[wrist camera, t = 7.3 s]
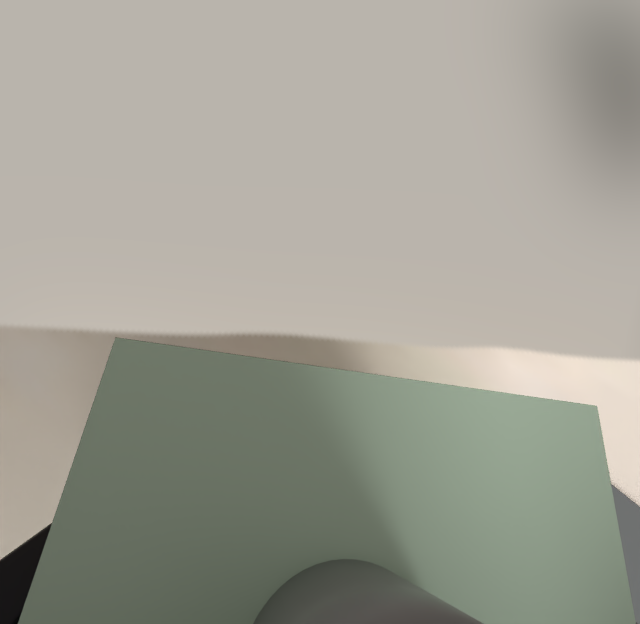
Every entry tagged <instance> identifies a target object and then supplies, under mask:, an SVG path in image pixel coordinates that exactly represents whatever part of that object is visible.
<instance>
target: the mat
mask: <svg viewBox="0 0 640 624" xmlns="http://www.w3.org/2000/svg"><path fill="white" fill-rule="evenodd" d="M611 487H612V492H613V498H614V504H615V509H616V515H617V520H618V526H619V532H620V537H621V543H622V548H623V554H624V559H625V565H626V571H627V576H628V582H629V587H630V593H631V598H632V604H633V610H634V615H635V621H636V622H637V623H638V624H640V507H639V506H638V505H636V504H635V503H634V502H633V501H631V500H630V499H629V498H628V497H626V496H625V495H624V494H623V493H621V492H620V491H619V490H618V489H616V488H615V487H614V486H613V485H611Z"/></svg>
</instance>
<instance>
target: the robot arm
mask: <svg viewBox="0 0 640 624" xmlns="http://www.w3.org/2000/svg"><path fill="white" fill-rule="evenodd" d="M51 525H52V523H51V524H50V525H48V526H47V527H45V528H44V529H43V530H41V531H40V532H39V533H37V534H36V535H34V536H33V537H32V538H30V539H29V540H27V541H26V542H25V543H23V544H22V545H20V546H19V547H18V548H16V549H15V550H14V551H12V552H11V553H9V554H8V555H7V556H5V557H4V558H2V559H1V560H0V624H18V622H19V619H20V616H21V613H22V610H23V607H24V604H25V601H26V598H27V596H28V593H29V590H30V587H31V584H32V581H33V578H34V575H35V572H36V569H37V566H38V563H39V560H40V557H41V555H42V552H43V549H44V546H45V543H46V540H47V537H48V534H49V531H50V528H51ZM636 624H638V623H637V622H636Z"/></svg>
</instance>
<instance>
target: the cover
mask: <svg viewBox="0 0 640 624" xmlns="http://www.w3.org/2000/svg"><path fill="white" fill-rule="evenodd" d="M18 624H636V621H635V615H634V610H633V604H632V598H631V593H630V587H629V582H628V576H627V571H626V565H625V559H624V554H623V548H622V543H621V537H620V532H619V526H618V520H617V515H616V509H615V504H614V498H613V492H612V487H611V481H610V476H609V470H608V465H607V459H606V453H605V448H604V442H603V437H602V431H601V426H600V420H599V414H598V409H597V406H594V405H587V404H580V403H573V402H566V401H559V400H552V399H545V398H538V397H531V396H524V395H517V394H510V393H503V392H496V391H489V390H482V389H475V388H468V387H461V386H454V385H447V384H440V383H433V382H426V381H419V380H411V379H404V378H397V377H390V376H383V375H376V374H369V373H362V372H355V371H348V370H341V369H334V368H327V367H320V366H313V365H306V364H299V363H292V362H285V361H278V360H271V359H264V358H257V357H250V356H243V355H236V354H229V353H222V352H215V351H208V350H201V349H194V348H187V347H180V346H173V345H166V344H159V343H152V342H145V341H138V340H131V339H124V338H117V337H116V338H115V341H114V344H113V346H112V349H111V352H110V355H109V358H108V361H107V364H106V367H105V370H104V373H103V376H102V379H101V382H100V385H99V387H98V390H97V393H96V396H95V399H94V402H93V405H92V408H91V411H90V414H89V417H88V420H87V423H86V426H85V429H84V431H83V434H82V437H81V440H80V443H79V446H78V449H77V452H76V455H75V458H74V461H73V464H72V467H71V470H70V472H69V475H68V478H67V481H66V484H65V487H64V490H63V493H62V496H61V499H60V502H59V505H58V508H57V511H56V513H55V516H54V519H53V522H52V525H51V528H50V531H49V534H48V537H47V540H46V543H45V546H44V549H43V552H42V555H41V557H40V560H39V563H38V566H37V569H36V572H35V575H34V578H33V581H32V584H31V587H30V590H29V593H28V596H27V598H26V601H25V604H24V607H23V610H22V613H21V616H20V619H19V622H18Z"/></svg>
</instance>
